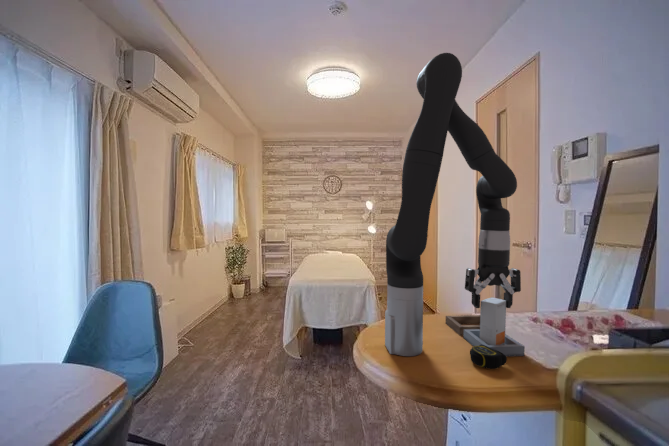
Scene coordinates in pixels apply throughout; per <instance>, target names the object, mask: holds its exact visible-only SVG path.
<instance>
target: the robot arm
mask: <svg viewBox="0 0 669 446" xmlns="http://www.w3.org/2000/svg"><path fill="white" fill-rule="evenodd" d="M462 77H463V67H462V64H461V61H460V60H459V58H458V57H457V55H455V54H453V53H451V52H443V53H439V54H437V55H436V56H434V57H433V58H431V59H430V60H429V61H428V63H426V65H424V67H423V68H422V70H421V71H420V72H419V74H418V76H417V79H416V88H417V91H418V93H419V95H420V96H421V98H422V99H423V102H422V105H421V106H422V107H421V110H420V114H419V116H418V118H417V120H416V122H415V125H414V126H413V130H412V132H411V135H410V137H409V140H408V141H407V142H408V143H407V145H406V146H407V147H406V150H405V155H404V158H403V165H402V169H401V170H402V172H401V203H400V206H399V207H400V208H399V212H398V216H397V219H396V223H395V225H393V226H392V227H391V228H390V229H388V232H387V234H386V240H385V264H386V266H385V268H386V270H385V271H386V280H387V281H386V282H387V283H386V285H387V286H386V289H387V290H386V291H387V292H386V293H387V294H386V295H387V296H386V298H387V299H386V300H387V301H386V309H385V312H384V345H385V347H386V349H387V350H388V353H389V354H390V355H397V356H401V357H402V356H403V357H416V356H419V355H421V354H422V353H423V348H424V347H423V345H424V341H423V340H424V338H423V337H424V335H423V334H424V333H423V332H424V331H423V330H424V324H423V323H424V275H423V271H422V270H423V269H422V264H421V262H422V261H421V255H422V254H423V253H424V252H425V250H426V248H427V244H428V234H429V223H430V213H431V207H432V203H433V200H434V197H435V193H436V188H437V184H438V179H439V176H440V172H441V166H442V161H443V157H444V152H445V147H446V146H445V145H446V141H447V136H448V133H449V134H450V136H451V137H452V139H453V140H454V143H455V144H456V145H457V147H458V149H459V151H460V153H461V155H462V157H463V158H464V160H465V162H466V163H467V165H468V166H469V168H470V169H471V170H473V171H476V172H479V173H480V174H481V176H480V178H479V179H478V180H477V183H476V188H475V189H476V190H475V193H476V200H477V204H478V209H479V213H480V221H479V223H480V224H479V225H480V226H479V229H480V230H479V234H478V235H479V236H478V250H477V251H478V254H477V263H478V266H477V269H475V268H474V269H473V268H469V267H467V268H466V270H465V281H464V290H466V291H468V292H469V293H471V305H472V306H473V307H474V308H475V309H481V293H482V291H483V289H485V288H486V287H487V286H490V287H491V286H498V287H501V288H502V290H504V292H503V300H506V309H511V308H512V306H513V301H514V294H515V293H517V292H518V293H520V292H521V290H522V287H521V283H522V282H521V280H522V279H521V270H520V269H518V268H514V267H512V268H510V269H509V266H510V260H511V259H510V258H511V257H510V256H511V254H510V251H511V235H510V234H511V233H510V229H511V228H510V227H511V226H510V224H511V223H510V222H511V213H510V211H509V210H508V209H506V208H505V207H503V204H502V199H507V198H509V197H511V196H513V195H514V194H515V193H516V191H517V188H518V182H517V181H518V180H517V178H516V177H517V176H516V175H515V173H514V171H513V170H512V169H511V168H510V167H509V166H508V164H507V163H506V162H505V161H504V160H503V159H502V158H501V157H500V156H499V155H498V154H497V153H496V152H495V150H494V148H493V146H492V144H491V142H490V140H489V138H488V136H487V135H486V133H485V131H484V130H483V129H482V128H481V126H480V125H478V123H477V122H476V121H474V120H473V119H472V118H471V117H470V116H469V115H468V114H467V113H465V111H464V110H463V109H462V108H461V106H460V105H459V103H458V102H457V100H456V98H457V94H458V92H459V89H460V86H461V81H462ZM476 277H478V278H477V280H476V281H475V278H476ZM508 277H510V282H509V280H508Z"/></svg>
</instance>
